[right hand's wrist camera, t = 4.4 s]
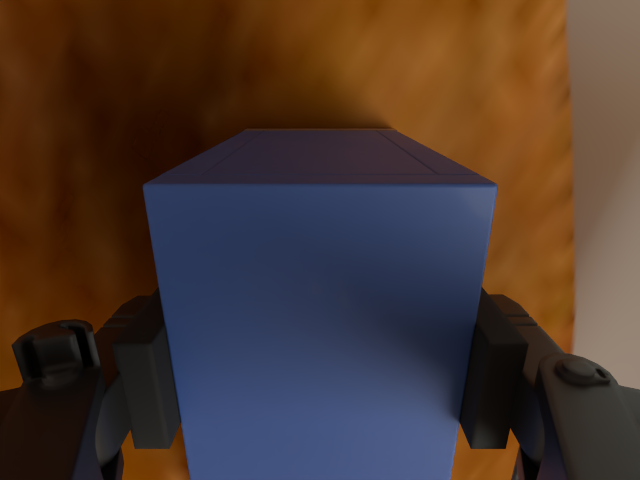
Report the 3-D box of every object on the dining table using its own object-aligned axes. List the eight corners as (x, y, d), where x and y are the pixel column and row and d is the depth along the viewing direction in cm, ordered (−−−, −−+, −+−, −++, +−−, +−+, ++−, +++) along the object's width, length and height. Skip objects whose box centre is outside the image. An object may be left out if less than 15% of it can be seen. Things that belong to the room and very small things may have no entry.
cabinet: (374, 424, 24) (418, 686, 13) (265, 424, 24) (222, 686, 13) (393, 128, 18) (500, 183, 7) (246, 128, 18) (139, 183, 7)
